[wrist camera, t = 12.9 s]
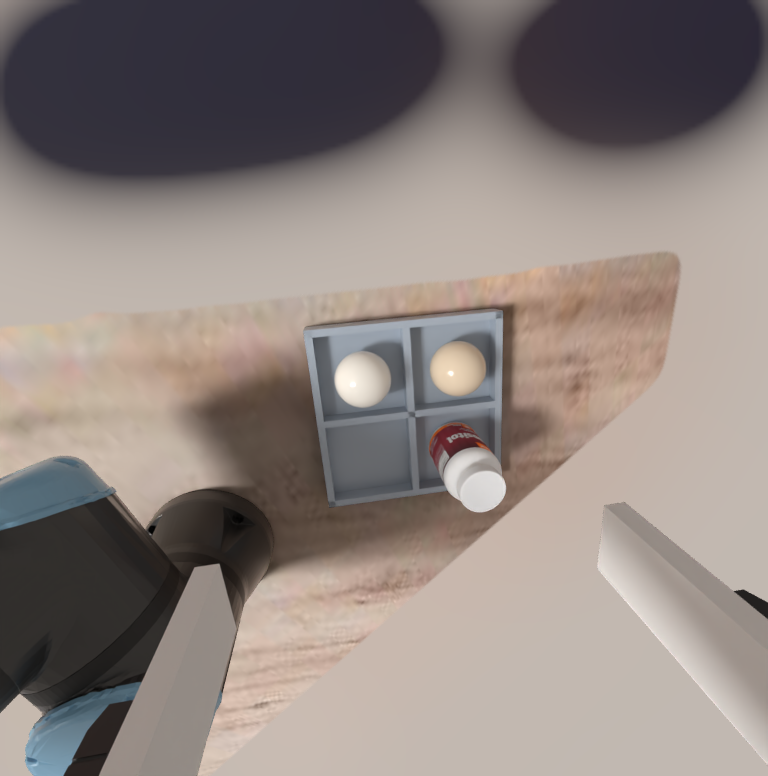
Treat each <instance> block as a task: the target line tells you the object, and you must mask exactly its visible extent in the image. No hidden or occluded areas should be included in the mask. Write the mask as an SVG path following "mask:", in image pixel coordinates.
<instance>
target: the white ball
mask: <svg viewBox="0 0 768 776" xmlns="http://www.w3.org/2000/svg"><path fill="white" fill-rule="evenodd" d="M334 381H335V387H336V390H337V392H338V394H339V396H340V397H341V398H342V399H343V400H344V401H345V402H346V403H348V404H350V405H352V406H354V407H359V408H367V407H371V406H374V405H376V404H378V403H379V402H381V401H382V400H383V399H384V398H385V397H386V395H387V394H388V392H389V389H390V386H391V373H390V369H389V367H388V365H387V364H386V362H385V361H384V360H383V359H382V358H381V357H380V356H378V355H376V354H375V353H372V352H368V351H358V352H354V353H351V354H349V355H348V356H346V357H345V358H344V359H343V360H342V361H341V362H340V363H339V365H338V367H337V369H336V372H335V378H334Z"/></svg>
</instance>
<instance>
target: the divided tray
mask: <svg viewBox="0 0 768 776" xmlns="http://www.w3.org/2000/svg"><path fill="white" fill-rule="evenodd" d="M303 332H304V339H305V346H306V353H307V360H308V366H309V373H310V380H311V387H312V394H313V400H314V407H315V414H316V421H317V428H318V435H319V441H320V448H321V455H322V462H323V469H324V476H325V482H326V489H327V496H328V503H329V508H331V507H338V506H345V505H352V504H359V503H366V502H373V501H380V500H387V499H394V498H401V497H408V496H415V495H422V494H429V493H436V492H443V491H448V490H447V488H446V486H445V484H444V482H443V480H442V478H441V476H440V474H439V472H438V470H437V468H436V466H435V464H434V462H433V460H432V458H431V456H430V452H429V441H430V438H431V436H432V434H433V433H434V431H435V430H436V429H437V428H439V427H440V426H442V425H443V424H446V423H449V422H462V423H464V424H467V425H468V426H470V427H471V428H472V429H473V430H474V431H475V432H476V434H477V435H478V436H479V437H480V438H481V440H482V441H483V442H484V443H485V444H486V446H487V447H488V448H489V449H490V450H491V452H492V453H493V454H494V455H495V457H496V458H497V459H498V461H499V463H500V465H501V422H502V354H503V311H502V310H498V309H495V308H492V309H481V310H471V311H461V312H451V313H441V314H431V315H421V316H411V317H401V318H391V319H381V320H371V321H361V322H350V323H340V324H330V325H320V326H310V327H305V328H304V330H303ZM452 341H464V342H468V343H470V344H472V345H474V346H475V347H476V348H478V349H479V350H480V352H481V353H482V355H483V357H484V359H485V362H486V375H485V378H484V380H483V382H482V384H481V385H480V386H479V388H478V389H477V390H475V391H474V392H472V393H470V394H468V395H465V396H450V395H447V394H445V393H443V392H442V391H440V390H439V389H438V388H437V387H436V386H435V384H434V383H433V381H432V379H431V375H430V363H431V359H432V357H433V355H434V354H435V352H436V351H437V350H438V349H439V348H440V347H441V346H443V345H444V344H446V343H449V342H452ZM358 351H368V352H372V353H375V354H376V355H378V356H380V357H381V358H382V359H383V360H384V361H385V362H386V364H387V365H388V367H389V369H390V373H391V386H390V389H389V392H388V394H387V395H386V397H385V398H384V399H383V400H382V401H381V402H379V403H378V404H376V405H374V406H371V407H367V408H359V407H354V406H352V405H350V404H348V403H346V402H345V401H344V400H343V399H342V398H341V397H340V396H339V394H338V392H337V390H336V387H335V381H334V378H335V372H336V369H337V367H338V365H339V363H340V362H341V361H342V360H343V359H344V358H345V357H346V356H348V355H349V354H351V353H354V352H358Z"/></svg>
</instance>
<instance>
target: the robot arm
mask: <svg viewBox="0 0 768 776" xmlns="http://www.w3.org/2000/svg"><path fill="white" fill-rule="evenodd" d="M115 492H116V490H115V489H114V488H113V487H109V486H108V485H107V484H106V483H105V482H104V481H103V480H102V479H101V478H100V477H99V476H98V475H97V474H96V473H95V472H94V471H93V470H92V469H91V468H90V467H89V465H88V464H86V463H85V462H84V461H82V460H81V459H79V458H76V457H71V456H58V457H53V458H50V459H47V460H44V461H41V462H39V463H36V464H34V465H31V466H29V467H26V468H24V469H21V470H19V471H16V472H14V473H12V474H9V475H7V476H5V477H2V478H0V713H1V712H2V711H3V710H4V709H5V708H6V706H7V705H8V704H9V703H10V702H11V701H12V700H13V699H14V698H15V697H16V696H17V695H18V694H21V695H22V696H24V697H25V698H26V699H28V700H29V701H30V702H31V703H32V704H33V705H34V706H35V707H37V708H38V709H39V710H40V711H41V712H42V717H41V718H40V719H39V721H38V722H37V723H35V725H34V726H33V728H32V730H31V731H30V734H29V741H28V743H27V745H26V749H25V752H26V759H25V762H26V766H27V768H28V769H29V771H30V772H31V773H32V774H33V775H34V776H197V774H198V771H199V767H200V763H201V760H202V756H203V752H204V748H205V745H206V741H207V737H208V735H209V731H210V728H211V725H212V722H213V719H214V716H215V712H216V710H217V709H218V707H219V705H220V703H221V700H222V693H223V689H224V684H225V680H226V676H227V672H228V668H229V664H230V660H231V656H232V652H233V648H234V643H235V639H236V635H237V631H238V627H239V623H240V619H241V615H242V611H243V607H244V604H245V602H246V601H247V599H248V598H249V597H250V595H251V594H252V592H253V591H254V589H255V588H256V586H257V585H258V583H259V582H260V581H261V580H262V579H263V577H264V575H265V574H266V572H267V569H268V567H269V564H270V560H271V556H272V551H273V543H274V540H273V533H272V529H271V527H270V524H269V522H268V521H267V519H266V517H265V516H264V515H263V513H262V512H261V511H260V510H259V509H258V508H257V507H256V506H254V505H253V504H252V503H250V502H249V501H247V500H245V499H243V498H241V497H239V496H237V495H234V494H231V493H227V492H222V491H214V490H203V491H195V492H190V493H186V494H183V495H181V496H178V497H176V498H174V499H172V500H171V501H169V502H168V503H166V504H165V505H164V506H163V507H161V508H160V509H159V511H158V512H157V513H156V514H155V516H154V517H153V518H152V520H151V521H150V523H149V524H148V526H147V527H146V529H144V528H143V526H142V525H141V524H140V523H139V522H138V520H137V519H136V518H135V517H134V516H133V514H132V513H131V512H130V511H129V509H128V508H127V507H126V506H125V505H124V503H123V502H122V501H121V500H120V498H119V497H118V496H117V495H116V494H115ZM597 569H598V570H599V571H600V572H601V573H602V575H603V576H604V577H605V578H606V579H607V580H608V582H609V583H610V584H611V585H612V586H613V587H614V588H615V590H616V591H617V592H618V593H619V594H620V595H621V597H622V598H623V599H624V600H625V601H626V602H627V603H628V605H629V606H630V607H631V608H632V609H633V610H634V612H635V613H636V614H637V615H638V616H639V617H640V618H641V620H642V621H643V622H644V623H645V624H646V625H647V627H648V628H649V629H650V630H651V631H652V632H653V633H654V635H655V636H656V637H657V638H658V639H659V640H660V642H661V643H662V644H663V645H664V646H665V647H666V648H667V650H668V651H669V652H670V653H671V654H672V655H673V657H674V658H675V659H676V660H677V661H678V662H679V664H680V665H681V666H682V667H683V668H684V669H685V670H686V672H687V673H688V674H689V675H690V676H691V677H692V678H693V680H694V681H695V682H696V683H697V684H698V685H699V687H700V688H701V689H702V690H703V691H704V692H705V694H706V695H707V696H708V697H709V698H710V699H711V700H712V702H713V703H714V704H715V705H716V706H717V707H718V709H719V710H720V711H721V712H722V713H723V714H724V715H725V717H726V718H727V719H728V720H729V721H730V722H731V724H732V725H733V726H734V727H735V728H736V729H737V730H738V732H739V733H740V734H741V735H742V736H743V737H744V739H745V740H746V741H747V742H748V743H749V744H750V745H751V747H752V748H753V749H754V750H755V751H756V752H757V754H758V755H759V756H760V757H761V758H762V759H763V760H764V761H765V763H766V764H767V765H768V602H766V601H764V600H762V599H760V598H758V597H757V596H755V595H753V594H751V593H749V592H747V591H745V590H738V591H733V590H731V589H730V588H729V587H728V586H726V585H725V584H724V583H723V582H722V581H720V580H719V579H718V578H717V577H715V576H714V575H713V574H712V573H711V572H709V571H708V570H707V569H706V568H704V567H703V566H702V565H701V564H699V563H698V562H697V561H696V560H695V559H693V558H692V557H691V556H690V555H689V554H687V553H686V552H685V551H684V550H682V549H681V548H680V547H679V546H677V545H676V544H675V543H674V542H673V541H671V540H670V539H669V538H668V537H667V536H665V535H664V534H663V533H662V532H660V531H659V530H658V529H657V528H656V527H654V526H653V525H652V524H651V523H649V522H648V521H647V520H646V519H645V518H643V517H642V516H641V515H640V514H638V513H637V512H636V511H635V510H633V509H632V508H631V507H630V506H629V505H627V504H626V503H625V502H624V503H617V504H610V505H605V506H604V512H603V521H602V531H601V539H600V548H599V557H598V566H597Z"/></svg>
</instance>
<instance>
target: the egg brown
mask: <svg viewBox="0 0 768 776" xmlns="http://www.w3.org/2000/svg"><path fill="white" fill-rule="evenodd" d="M430 375H431V379H432V381H433V383H434V384H435V386H436V387H437V388H438V389H439V390H440V391H442V392H443V393H445V394H447V395H450V396H465V395H468V394H470V393H472V392H474V391H475V390H477V389H478V388H479V386H480V385H481V384H482V382H483V380H484V378H485V375H486V362H485V359H484V357H483V355H482V353H481V352H480V350H479V349H478V348H476V347H475V346H474V345H472V344H470V343H468V342H464V341H452V342H449V343H446V344H444V345H443V346H441V347H440V348H439V349H438V350H437V351H436V352H435V354H434V355H433V357H432V359H431V363H430Z"/></svg>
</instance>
